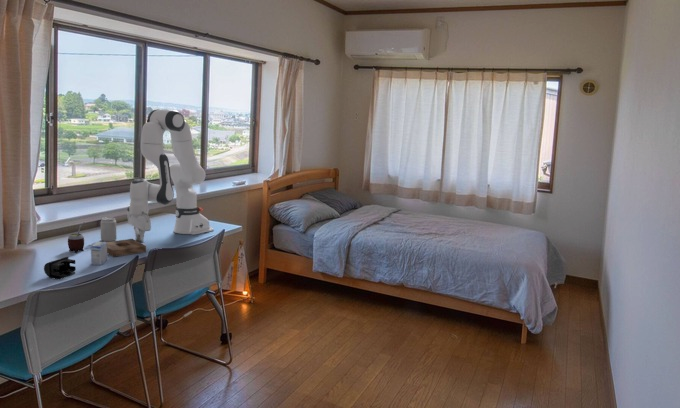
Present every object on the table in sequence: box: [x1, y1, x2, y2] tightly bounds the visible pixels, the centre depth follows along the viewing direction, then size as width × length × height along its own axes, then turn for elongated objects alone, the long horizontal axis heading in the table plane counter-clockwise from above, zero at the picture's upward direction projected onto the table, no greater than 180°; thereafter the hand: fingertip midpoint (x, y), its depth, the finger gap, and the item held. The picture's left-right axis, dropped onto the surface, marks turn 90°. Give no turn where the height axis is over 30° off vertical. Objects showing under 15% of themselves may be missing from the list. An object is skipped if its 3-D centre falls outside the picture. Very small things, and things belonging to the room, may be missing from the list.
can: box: [100, 216, 118, 242], centre depth 274 cm, size 8×8×12 cm
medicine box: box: [90, 241, 108, 266], centre depth 239 cm, size 8×4×9 cm, turn 5°
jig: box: [107, 238, 147, 258], centre depth 260 cm, size 16×16×3 cm
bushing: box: [134, 227, 145, 244], centre depth 276 cm, size 4×4×8 cm
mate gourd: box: [67, 222, 86, 254], centre depth 253 cm, size 8×8×15 cm
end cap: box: [43, 256, 76, 280], centre depth 220 cm, size 10×7×7 cm
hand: (139, 236), depth 276 cm, fingers closed on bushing, 4 cm apart
